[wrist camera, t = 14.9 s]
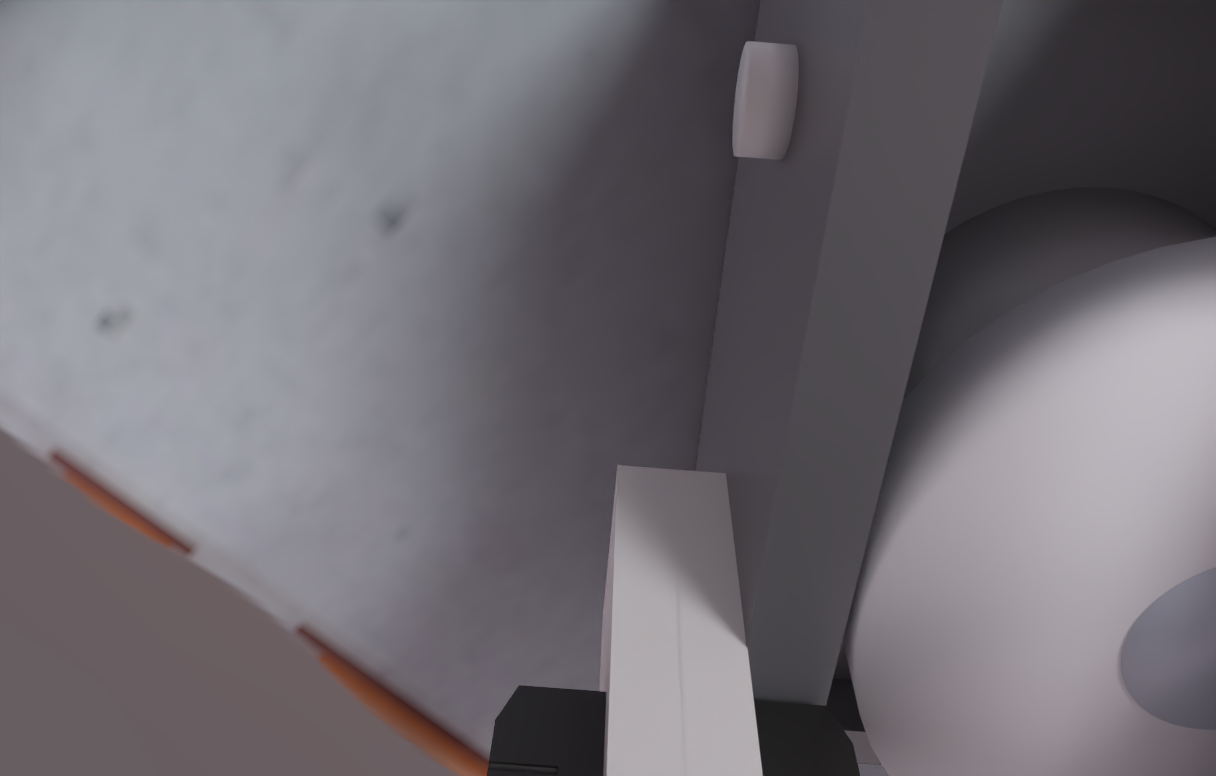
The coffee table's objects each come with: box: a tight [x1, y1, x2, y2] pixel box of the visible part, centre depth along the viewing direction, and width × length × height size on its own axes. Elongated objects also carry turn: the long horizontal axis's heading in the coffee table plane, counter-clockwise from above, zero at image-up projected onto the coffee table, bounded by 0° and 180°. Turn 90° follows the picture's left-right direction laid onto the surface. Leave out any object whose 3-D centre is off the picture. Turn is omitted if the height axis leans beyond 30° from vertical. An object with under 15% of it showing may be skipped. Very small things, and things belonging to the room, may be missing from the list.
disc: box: [843, 237, 1216, 776], centre depth 12 cm, size 8×8×2 cm
